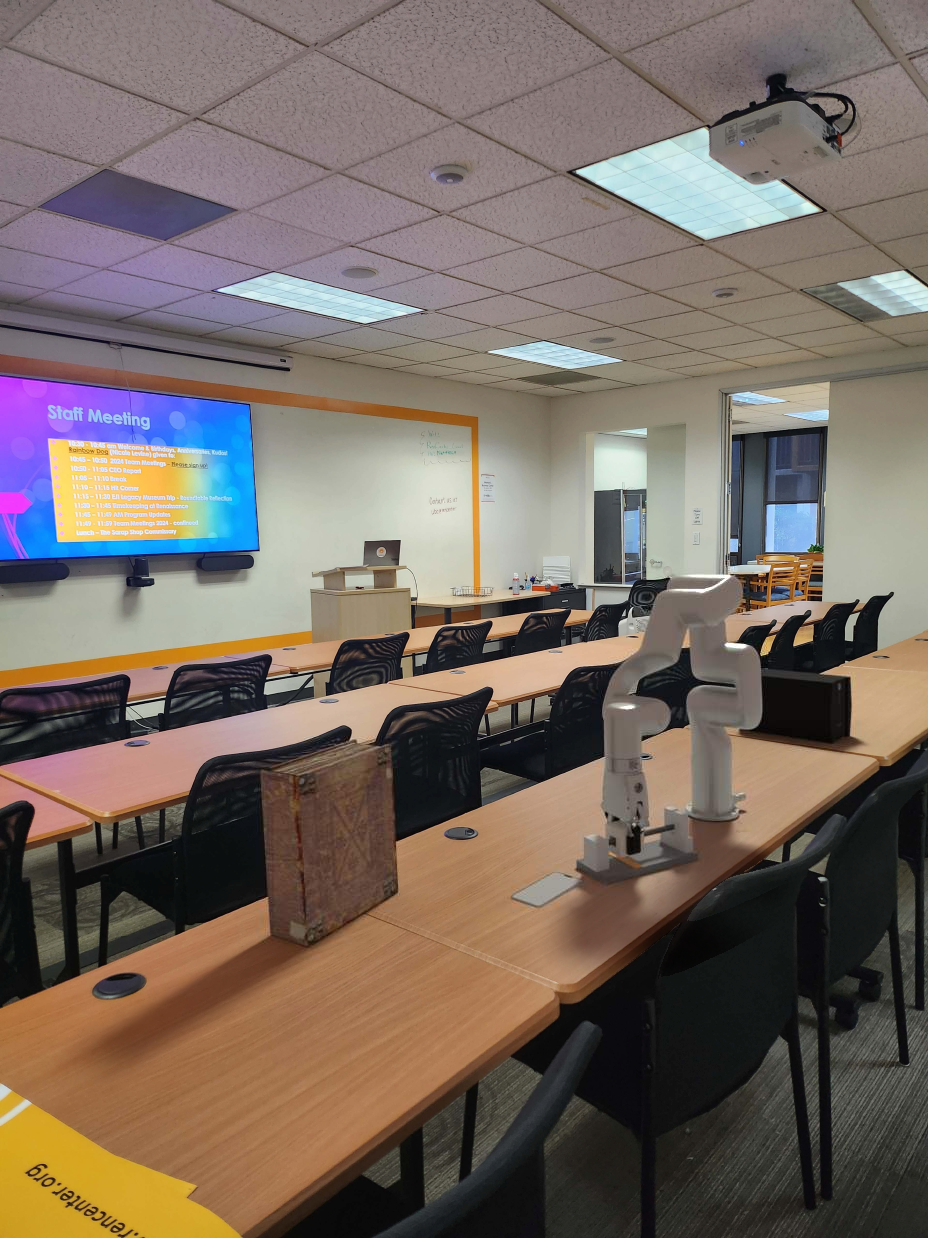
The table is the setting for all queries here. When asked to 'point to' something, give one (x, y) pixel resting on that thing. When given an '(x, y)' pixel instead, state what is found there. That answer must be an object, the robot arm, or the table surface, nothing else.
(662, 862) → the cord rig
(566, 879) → the smartphone
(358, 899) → the book
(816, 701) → the uninterruptible power supply
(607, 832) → the notched cream block
